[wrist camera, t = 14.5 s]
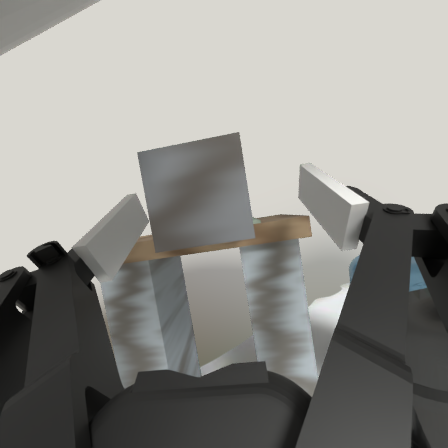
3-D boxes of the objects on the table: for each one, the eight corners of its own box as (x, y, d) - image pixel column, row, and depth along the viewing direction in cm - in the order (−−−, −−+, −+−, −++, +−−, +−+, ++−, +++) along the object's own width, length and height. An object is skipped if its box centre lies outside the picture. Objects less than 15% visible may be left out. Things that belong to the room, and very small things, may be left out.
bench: (306, 391, 31) (280, 212, 29) (349, 504, 19) (308, 212, 17) (169, 401, 33) (138, 235, 32) (129, 509, 21) (76, 248, 20)
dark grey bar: (241, 217, 37) (238, 197, 37) (255, 238, 7) (239, 132, 7) (222, 220, 37) (219, 200, 37) (155, 252, 7) (137, 152, 7)
